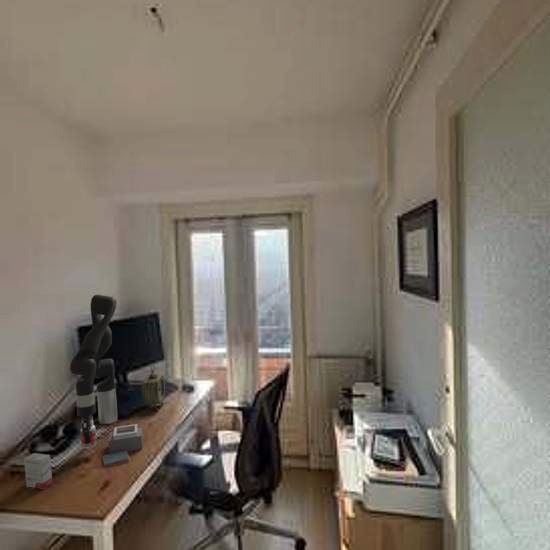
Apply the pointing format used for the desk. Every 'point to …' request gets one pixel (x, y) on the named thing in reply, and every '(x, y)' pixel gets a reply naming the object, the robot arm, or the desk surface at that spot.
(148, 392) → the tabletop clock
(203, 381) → the desk surface
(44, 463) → the ink box
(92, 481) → the desk surface
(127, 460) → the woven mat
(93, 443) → the pill bottle
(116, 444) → the display riser
